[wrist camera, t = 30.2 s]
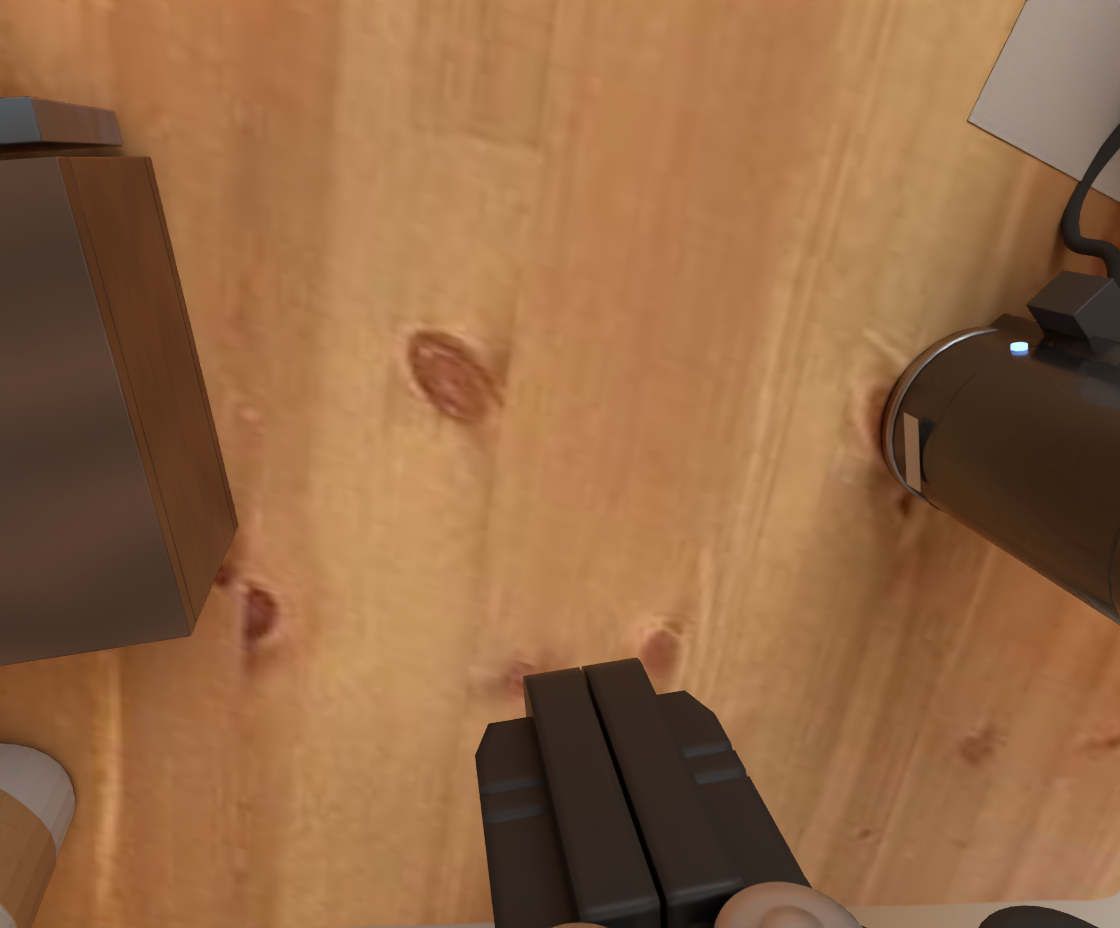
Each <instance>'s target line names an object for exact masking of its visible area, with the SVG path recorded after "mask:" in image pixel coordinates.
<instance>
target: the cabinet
mask: <svg viewBox="0 0 1120 928" xmlns="http://www.w3.org/2000/svg"><path fill="white" fill-rule="evenodd" d="M237 527H238V522H237V518H236V514H235V510H234V505H233V501H232V497H231V493H230V489H229V484H228V480H227V476H226V472H225V468H224V463H223V459H222V455H221V451H220V447H219V443H218V438H217V434H216V430H215V426H214V422H213V417H212V413H211V409H210V405H209V401H208V397H207V392H206V388H205V384H204V380H203V376H202V371H201V367H200V363H199V359H198V355H197V351H196V346H195V342H194V338H193V334H192V330H191V325H190V321H189V317H188V313H187V309H186V305H185V300H184V296H183V292H182V288H181V284H180V279H179V275H178V271H177V267H176V263H175V259H174V254H173V250H172V246H171V242H170V238H169V233H168V229H167V225H166V221H165V217H164V213H163V208H162V204H161V200H160V196H159V192H158V187H157V183H156V179H155V175H154V171H153V167H152V162H151V159H150V157H81V156H53V157H38V158H24V159H10V160H0V666H3V665H9V664H15V663H22V662H28V661H34V660H41V659H47V658H54V657H60V656H66V655H73V654H79V653H86V652H92V651H98V650H105V649H111V648H118V647H124V646H130V645H137V644H143V643H150V642H156V641H162V640H169V639H175V638H182V637H188V636H191V634H192V632H193V630H194V627H195V625H196V622H197V620H198V617H199V615H200V613H201V610H202V608H203V606H204V603H205V601H206V599H207V596H208V594H209V592H210V589H211V587H212V585H213V583H214V580H215V578H216V576H217V573H218V571H219V569H220V566H221V564H222V562H223V559H224V557H225V555H226V552H227V550H228V548H229V545H230V543H231V541H232V538H233V536H234V534H235V532H236V529H237Z"/></svg>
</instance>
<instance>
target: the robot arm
mask: <svg viewBox="0 0 1120 928" xmlns="http://www.w3.org/2000/svg"><path fill="white" fill-rule="evenodd" d="M1119 148H1120V124H1119V125H1118V126H1117V127H1116V128H1115V129H1114V131H1113V132H1112V133H1111V134H1110V136H1109V137H1108V138H1107V140H1106V141H1105V142H1104V143H1103V145H1102V146H1101V147H1100V149H1099V151H1098V152H1097V154H1096V156H1095V157H1094V159H1093V160H1092V162H1091V164H1090V166H1089V167H1088V169H1087V171H1086V172H1085V175H1084V176H1083V178H1082V180H1081V181H1079V183H1078V184H1077V186H1076V188H1075V190H1074V192H1073V194H1072V196H1071V198H1070V200H1069V202H1068V204H1067V206H1066V208H1065V210H1064V213H1063V217H1062V221H1061V231H1062V239H1063V242H1064V244H1065V245H1066V246H1067V248H1068V249H1070V250H1071V251H1073V252H1075V253H1078V254H1083V255H1089V256H1095V257H1099V258H1101V259H1103V261H1104V263H1105V265H1106V268H1107V278H1106V277H1100V276H1094V275H1088V274H1082V273H1076V272H1070V271H1064V270H1063V271H1061V272H1060V273H1059V274H1058V275H1057V276H1056V277H1055V278H1054V279H1053V280H1052V281H1051V282H1049V283H1048V284H1047V285H1046V286H1045V287H1044V288H1043V289H1042V290H1041V291H1040V292H1039V293H1038V294H1037V295H1035V296H1034V297H1033V298H1032V299H1031V300H1030V301H1029V302H1028V303H1027V304H1026V306H1027V307H1028V309H1029V310H1030V312H1031V313H1032V315H1033V316H1034V318H1035V319H1036V321H1034V320H1030V319H1026V318H1022V317H1019V316H1015V315H1011V314H1003V315H1002V316H1001V317H1000V318H998V319H997V320H996V321H995V322H994V323H993V324H991V325H990V326H988V327H975V328H970V329H966V330H962V331H959V332H957V333H954V334H951V335H949V336H947V337H945V338H943V339H942V340H940V341H938V342H937V343H935V344H934V345H932V346H931V347H930V348H928V349H927V350H926V351H925V352H923V353H922V354H921V355H920V356H919V357H918V358H917V359H916V360H915V361H914V362H913V363H912V364H911V365H910V367H909V368H908V369H907V370H906V372H905V373H904V374H903V376H902V377H901V379H900V380H899V382H898V384H897V385H896V387H895V389H894V391H893V393H892V395H891V398H890V400H889V403H888V405H887V409H886V412H885V416H884V421H883V429H882V443H883V451H884V456H885V459H886V462H887V465H888V467H889V469H890V471H891V473H892V475H893V476H894V478H895V479H896V480H897V481H898V483H899V484H900V485H901V486H902V487H904V488H905V489H906V490H907V491H909V492H910V493H912V494H913V495H915V496H916V497H918V498H920V499H921V500H923V501H925V502H928V503H929V504H931V505H932V506H934V507H935V508H937V509H939V510H941V511H943V512H945V513H946V514H948V515H949V516H951V517H953V518H954V519H956V520H957V521H958V522H960V523H962V524H963V525H965V526H966V527H968V528H969V529H971V530H972V531H974V532H976V533H977V534H979V535H980V536H982V537H983V538H985V539H986V540H988V541H990V542H991V543H993V544H994V545H996V546H997V547H999V548H1000V549H1002V550H1004V551H1005V552H1007V553H1008V554H1010V555H1011V556H1013V557H1014V558H1016V559H1018V560H1019V561H1021V562H1022V563H1024V564H1025V565H1027V566H1028V567H1030V568H1032V569H1033V570H1035V571H1036V572H1038V573H1039V574H1041V575H1042V576H1044V577H1046V578H1047V579H1049V580H1050V581H1052V582H1053V583H1055V584H1056V585H1058V586H1060V587H1061V588H1063V589H1064V590H1066V591H1067V592H1069V593H1070V594H1072V595H1074V596H1075V597H1077V598H1078V599H1080V600H1081V601H1083V602H1084V603H1086V604H1088V605H1089V606H1091V607H1092V608H1094V609H1095V610H1097V611H1098V612H1100V613H1102V614H1103V615H1105V616H1106V617H1108V618H1109V619H1111V620H1112V621H1114V622H1116V623H1117V624H1119V625H1120V250H1119V249H1118V248H1117V247H1116V246H1114V245H1113V244H1111V243H1108V242H1106V241H1101V240H1095V239H1088V238H1084V237H1082V236H1081V235H1080V227H1079V218H1080V211H1081V207H1082V204H1083V201H1084V198H1085V196H1086V194H1087V192H1088V190H1089V188H1090V187H1091V185H1092V184H1093V182H1094V180H1095V179H1096V177H1097V176H1098V175H1099V173H1100V172H1101V170H1102V169H1103V168H1104V167H1105V165H1106V164H1107V163H1108V162H1109V160H1110V159H1111V158H1112V157H1113V155H1114V154H1115V153H1116V152H1117V151H1118V150H1119ZM523 686H524V698H525V708H526V718H520V719H514V720H508V721H502V722H496V723H490V724H488V726H487V729H486V731H485V733H484V736H483V738H482V740H481V743H480V745H479V748H478V750H477V752H476V755H475V759H476V768H477V776H478V785H479V793H480V802H481V810H482V819H483V828H484V836H485V845H486V853H487V862H488V871H489V879H490V888H491V896H492V905H493V913H494V922H495V928H866V927H864V926H861V925H860V924H859V923H858V922H857V920H856V919H855V918H854V917H853V915H851V914H850V913H849V912H848V911H847V910H846V909H845V908H844V907H843V906H842V905H840V904H839V903H838V902H836V901H835V900H834V899H832V898H831V897H829V896H827V895H825V894H823V893H821V892H820V891H817V890H815V889H813V888H812V887H811V885H810V884H809V882H808V881H807V879H806V878H805V876H804V874H803V872H802V871H801V869H800V867H799V865H798V863H797V862H796V860H795V858H794V856H793V854H792V853H791V851H790V849H789V847H788V845H787V844H786V842H785V840H784V838H783V836H782V834H781V833H780V831H779V829H778V827H777V825H776V824H775V822H774V820H773V818H772V816H771V815H770V813H769V811H768V809H767V807H766V806H765V804H764V802H763V800H762V798H761V797H760V795H759V793H758V791H757V789H756V788H755V786H754V784H753V782H752V780H751V779H750V777H749V776H748V777H747V775H746V769H745V768H744V766H743V764H742V762H741V760H740V759H739V757H738V755H737V753H736V751H735V750H732V746H731V742H730V741H729V739H728V737H727V735H726V733H725V732H724V730H723V728H722V726H721V724H720V723H719V721H718V719H717V717H716V715H715V714H714V713H713V712H712V711H711V710H709V709H708V708H707V707H705V706H704V705H703V704H702V703H700V702H699V701H698V700H696V699H695V698H694V697H693V696H691V695H690V694H689V693H687V692H686V691H685V690H684V691H678V692H672V693H666V694H660V695H656V693H655V691H654V689H653V687H652V685H651V683H650V680H649V678H648V676H647V674H646V672H645V670H644V667H643V665H642V663H641V661H640V660H639V659H638V658H631V659H625V660H619V661H612V662H606V663H600V664H594V665H588V666H582V669H581V670H580V668H579V667H577V668H570V669H564V670H558V671H552V672H546V673H539V674H533V675H527V676H523ZM979 928H1098V927H1096V926H1094V925H1092V924H1090V923H1088V922H1086V921H1084V920H1081V919H1079V918H1077V917H1074V916H1072V915H1070V914H1066V913H1064V912H1060V911H1057V910H1054V909H1049V908H1044V907H1038V906H1014V907H1009V908H1005V909H1002V910H998V911H997V912H995V913H993V914H991V915H989V916H988V917H987V918H986V919H985V920H984V921H983V922H982V923H981V924H980V926H979Z"/></svg>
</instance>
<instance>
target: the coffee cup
mask: <svg viewBox="0 0 1120 928" xmlns="http://www.w3.org/2000/svg"><path fill="white" fill-rule="evenodd" d="M74 812H75V796H74V793H73V786H72V783H71V780H70V777H69V776H68V774H67V773H66V772H65V770H64V769H63V767H62V766H61V765H60V764H59V763H57V762H56V761H55V760H54V759H52V758H51V757H50V756H48V755H46V754H44V753H42V752H40V751H38V750H36V749H33V748H29V747H25V746H21V745H17V744H0V928H31V927H32V924H33V922H34V919H35V917H36V914H37V911H38V909H39V906H40V904H41V901H42V899H43V896H44V893H45V891H46V888H47V886H48V883H49V881H50V878H51V875H52V873H53V870H54V868H55V865H56V858H57V855H58V853H59V850H60V848H61V845H62V843H63V840H64V838H65V835H66V833H67V830H68V828H69V825H70V823H71V820H72V817H73V815H74Z"/></svg>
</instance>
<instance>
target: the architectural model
mask: <svg viewBox="0 0 1120 928" xmlns="http://www.w3.org/2000/svg"><path fill="white" fill-rule="evenodd" d="M968 121H969V122H971V123H973V124H975V125H977V126H979V127H981V128H982V129H984V130H986V131H988V132H990V133H992V134H994V135H996V136H997V137H999V138H1001V139H1003V140H1005V141H1007V142H1009V143H1010V144H1012V145H1014V146H1016V147H1018V148H1020V149H1022V150H1023V151H1025V152H1027V153H1029V154H1031V155H1033V156H1035V157H1036V158H1038V159H1040V160H1042V161H1044V162H1046V163H1048V164H1050V165H1051V166H1053V167H1055V168H1057V169H1059V170H1061V171H1063V172H1064V173H1066V174H1068V175H1070V176H1072V177H1074V178H1076V179H1077V180H1079V181H1081V180H1082V178H1083V176H1084V175H1085V172H1086V171H1087V169H1088V167H1089V166H1090V164H1091V162H1092V160H1093V159H1094V157H1095V156H1096V154H1097V152H1098V151H1099V149H1100V147H1101V146H1102V145H1103V143H1104V142H1105V141H1106V140H1107V138H1108V137H1109V136H1110V134H1111V133H1112V132H1113V131H1114V129H1115V128H1116V127H1117V126H1118V125H1119V124H1120V0H1027V2H1026V4H1025V6H1024V8H1023V10H1022V12H1021V14H1020V16H1019V18H1018V20H1017V22H1016V24H1015V26H1014V28H1013V30H1012V32H1011V34H1010V36H1009V38H1008V40H1007V42H1006V44H1005V46H1004V48H1003V50H1002V52H1001V54H1000V56H999V58H998V60H997V62H996V64H995V66H994V68H993V70H992V72H991V74H990V76H989V78H988V80H987V82H986V84H985V86H984V88H983V90H982V92H981V94H980V97H979V99H978V101H977V103H976V105H975V107H974V109H973V111H972V113H971V115H970V117H969V119H968ZM1091 187H1092V188H1094V189H1096V190H1098V191H1100V192H1102V193H1104V194H1105V195H1107V196H1109V197H1111V198H1113V199H1115V200H1117V201H1118V202H1120V148H1119V150H1118V151H1117V152H1116V153H1115V154H1114V155H1113V157H1112V158H1111V159H1110V160H1109V162H1108V163H1107V164H1106V165H1105V167H1104V168H1103V169H1102V170H1101V172H1100V173H1099V175H1098V176H1097V177H1096V179H1095V180H1094V182H1093V184H1092V185H1091Z"/></svg>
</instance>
